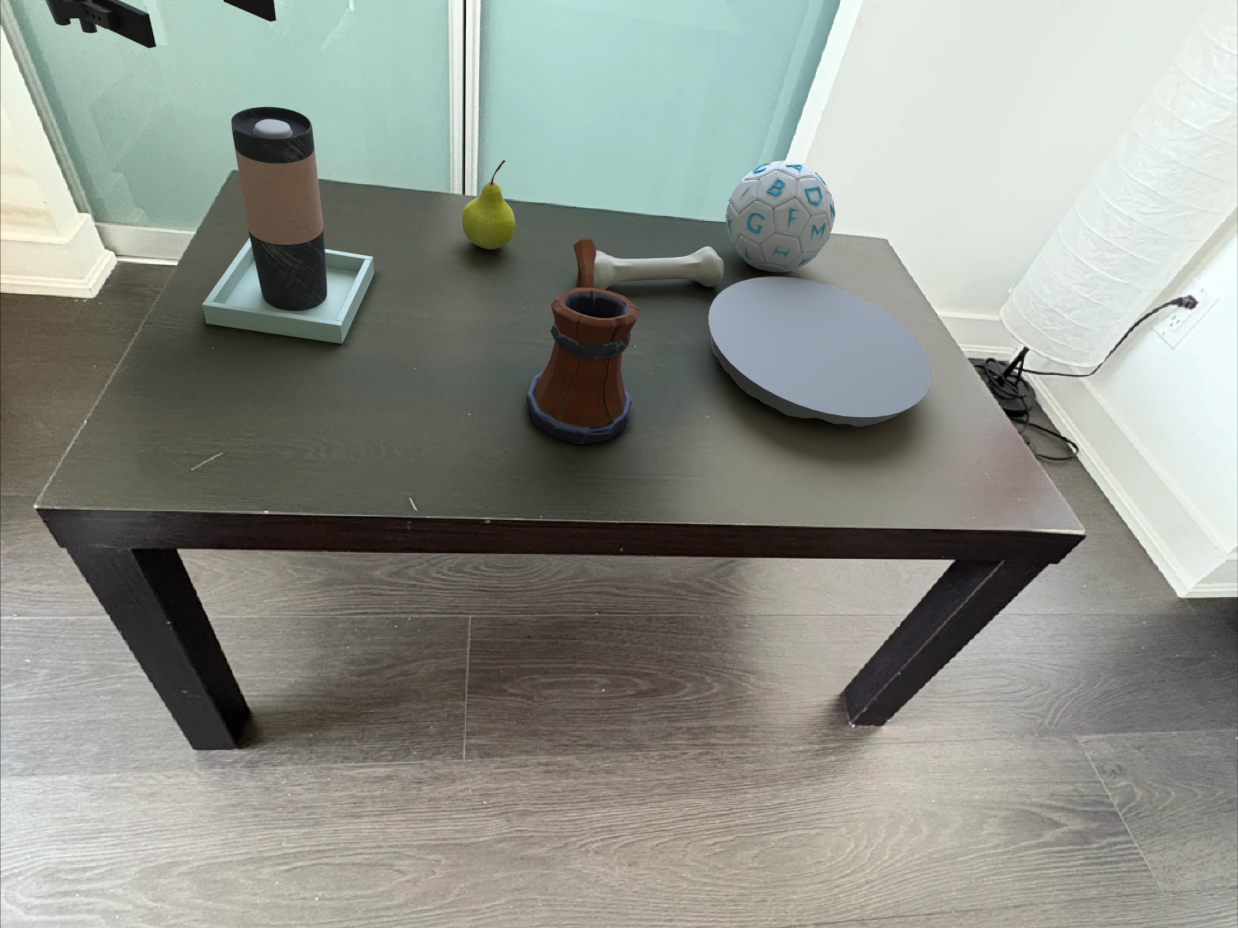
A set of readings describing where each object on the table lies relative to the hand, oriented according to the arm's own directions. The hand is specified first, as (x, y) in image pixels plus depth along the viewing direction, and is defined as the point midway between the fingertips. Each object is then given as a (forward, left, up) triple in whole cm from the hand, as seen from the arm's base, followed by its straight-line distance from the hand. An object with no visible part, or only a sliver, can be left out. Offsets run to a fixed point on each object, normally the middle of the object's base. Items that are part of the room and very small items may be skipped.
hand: (214, 18), depth 74 cm
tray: (+4, -4, -28) cm, 29 cm away
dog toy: (+49, -5, -28) cm, 57 cm away
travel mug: (+4, -4, -28) cm, 29 cm away
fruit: (+29, +6, -28) cm, 41 cm away
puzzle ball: (+69, -1, -28) cm, 74 cm away
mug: (+32, -25, -28) cm, 50 cm away
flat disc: (+63, -25, -28) cm, 73 cm away
